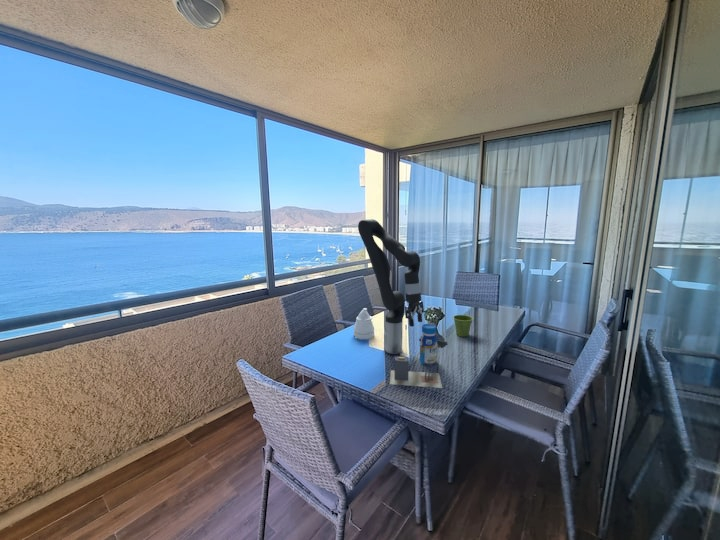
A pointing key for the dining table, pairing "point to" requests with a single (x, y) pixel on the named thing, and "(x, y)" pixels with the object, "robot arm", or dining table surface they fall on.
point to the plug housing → (401, 368)
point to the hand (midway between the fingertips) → (415, 324)
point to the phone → (440, 343)
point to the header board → (418, 379)
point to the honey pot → (363, 325)
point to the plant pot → (462, 324)
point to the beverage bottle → (428, 345)
